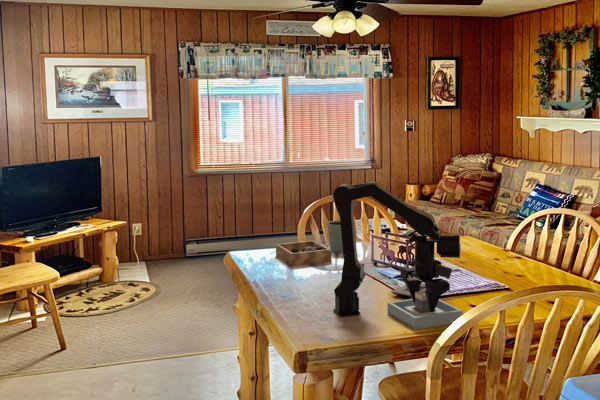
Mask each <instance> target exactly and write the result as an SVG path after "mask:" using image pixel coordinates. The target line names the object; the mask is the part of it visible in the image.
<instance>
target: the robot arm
mask: <svg viewBox="0 0 600 400" xmlns="http://www.w3.org/2000/svg"><path fill="white" fill-rule="evenodd" d="M368 197H370V198H372V199H373V200H375V201H377V202H379V203H380V204H381V205H383V206H384V207H386V208H387V209H388V210H390V211H392V212H393V213H394V214H396V215H398V216H399V217H401V218H402V219H403V220H404V221H405V222H406V223H407V224H408V226H410V228H411V229H412V230H413V231H414V232H413V233H412V234H411V236H409V237H408V239H407V241H408V242H410V243H411V242H412V243H414V258H411V263H413V264H414V266H412V267H403V268H402V269H401V271H400V278H401V279H402V282H403V283H404V286H405V285H406V287H407V289H408V291H409V293H410V295H411V297H412V298H411V297H410V298H411V299H413V301H414V303H415V292H419V290H420V285H421V284H422V283H423V284H424V285H425V288H426V291H425V294H426V298H427V301H428V305H429V309H430V312H434V311H435V308H436V306H437V303H438V300H439V299H440V298H441V296H442V295H444V294H446V293H447V292H449V291H450V290H451V283H450V282H449V281H448V280H450V278H451V275H452V272H453V268H451V267H448V266H446V265H443V264H442V261H440V260H438V259H435V250H436V254H437V255H438V256H440V258H450V259H451V258H452V259H455V258H456V259H460V258H461V235H460V233H459V234H458V233H456V234H445V233H444V234H443V232H441V230H440V229H439V227H438V225H436V220H435V219H436V218H435V217H434V216H433V215H432V214H431V213H429V212H427V211H425V210H423V209H420V208H416V207H415V206H414V207H413V206H411V205H410V204H408V203H407V202H405V201H404V200H402V199H400V198H399V197H398V196H397V195H394V194H393V193H392V192H390V191H389V190H387V189H386V188H384V187H382V185H380V184H379V183H378V182H376V181H370V182H366V183H365V182H364V183H358V184H353V185H352V184H350V183H342V184H341V185H339V186H338V187H336V188H335V189H334V190H333V194H332V198H333V202H334V206H335V208H336V211H337V213H338V216H339V221H340V225H341V236H342V246H343V252H342V254H343V265H342V270H341V279H340V280H341V281H340V282H339V283H338V284H337V285H336V287H335V288H334V290H333V292H334V302H335V303H334V304H335V305H334V308H333V309H332V310H333V312H334V313H336V314H337V315H339V316H340V317H347V316H353V315H360V314H361V311H360V297H359V296H358V295H359V293H358V292H357V290H358V289H359V288H360V286H361V285H362V284H363V282H364V279H365V277H366V276H367V275H366V273H365V263H360V261H359V258H358V251H357V249H358V248H357V239H356V227H355V218H354V211H355V206H356V200H359V199H365V198H368ZM435 243H436V248H435ZM440 277H443V278H445V279H443V278H440ZM446 279H447V280H446Z"/></svg>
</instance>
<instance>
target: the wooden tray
mask: <svg viewBox="0 0 600 400" xmlns="http://www.w3.org/2000/svg"><path fill="white" fill-rule="evenodd" d="M315 243H318V244H320V246H321V247H322V249H323V250H317V251H308V252H298V253H292V252H290V251H291V250H292V248H293V249H295V248H296V249H298V250H299V251H301V250H302V249H303V248H305V247H310V246H311V247H314V244H315ZM275 257H276V258H279V259H280V260H282V261H283V262H284V263H286V264H287V265H290V266H291V267H296V266H297V267H298V266H306V265H314V264H323V263H331V262H332V261H333V260H332V251H331V249H330V248H329V247H327V246H325V245H324V244H323V243H322V244H321V243H320V242H317V241H315V240H304V241H295V242H285V243H276V244H275Z"/></svg>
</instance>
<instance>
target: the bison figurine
mask: <svg viewBox="0 0 600 400" xmlns="http://www.w3.org/2000/svg"><path fill="white" fill-rule="evenodd" d="M318 243H319V242H318ZM318 243H315V244H314V247H311V246H310V247H305V248H303V249H302V250H301V251H299V250H298V249H296V248H295V249H293V248H292V250H291V251H290V252H292V253H298V252H308V251H317V250H323V249H322V247H321V246H320V244H321V243H320V244H318Z"/></svg>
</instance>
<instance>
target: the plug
mask: <svg viewBox="0 0 600 400" xmlns="http://www.w3.org/2000/svg"><path fill="white" fill-rule="evenodd" d="M415 310H416V311H418V312H419V313H426V312H430V309H429V305H428V301H427V298H426V294H425V291H420V292H415Z"/></svg>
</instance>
